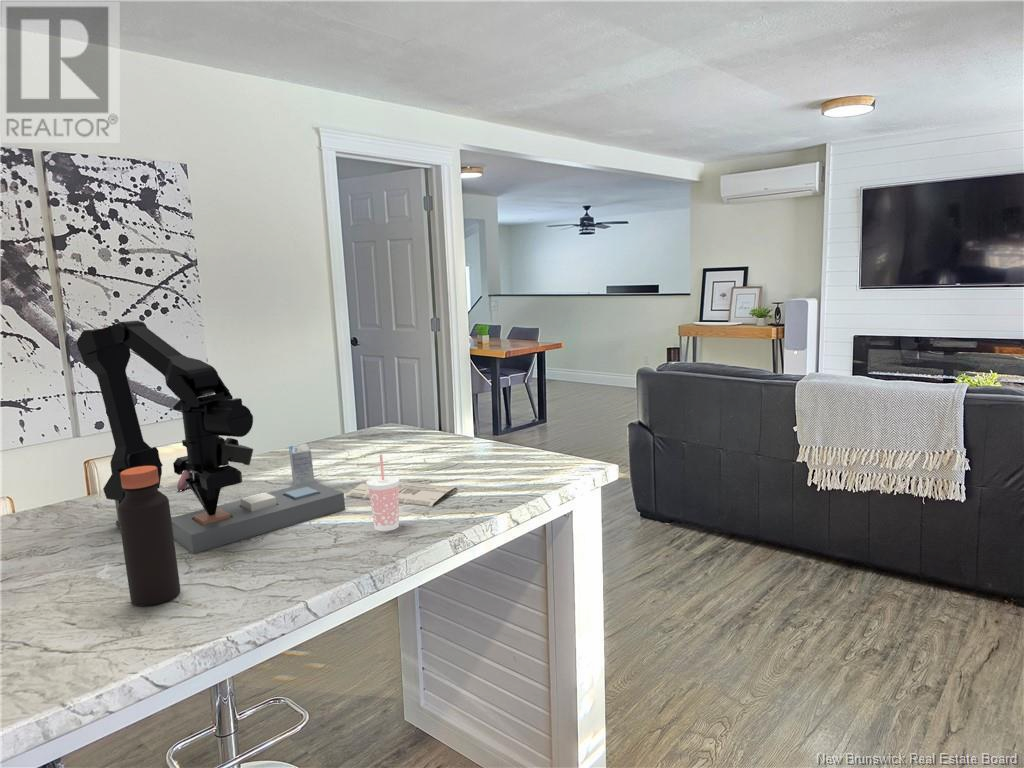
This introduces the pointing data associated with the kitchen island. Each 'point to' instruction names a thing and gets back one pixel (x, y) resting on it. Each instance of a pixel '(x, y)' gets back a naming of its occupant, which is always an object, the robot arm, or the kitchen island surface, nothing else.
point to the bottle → (147, 538)
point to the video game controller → (183, 480)
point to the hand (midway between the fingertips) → (211, 514)
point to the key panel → (255, 518)
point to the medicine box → (301, 464)
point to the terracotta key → (211, 517)
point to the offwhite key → (258, 502)
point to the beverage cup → (384, 501)
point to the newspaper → (409, 493)
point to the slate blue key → (301, 493)
